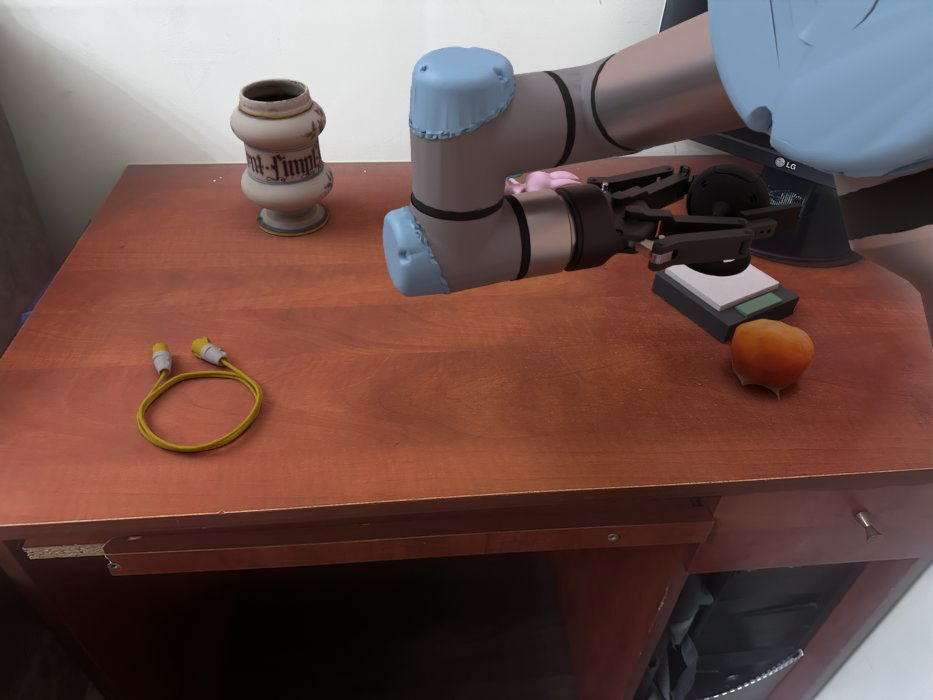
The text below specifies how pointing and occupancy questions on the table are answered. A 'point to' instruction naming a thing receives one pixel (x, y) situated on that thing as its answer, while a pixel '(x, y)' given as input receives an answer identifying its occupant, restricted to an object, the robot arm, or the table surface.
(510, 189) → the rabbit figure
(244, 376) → the extension cord
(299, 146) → the apothecary jar
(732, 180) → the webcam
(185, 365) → the table surface
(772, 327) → the fruit
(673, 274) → the scale
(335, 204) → the table surface
